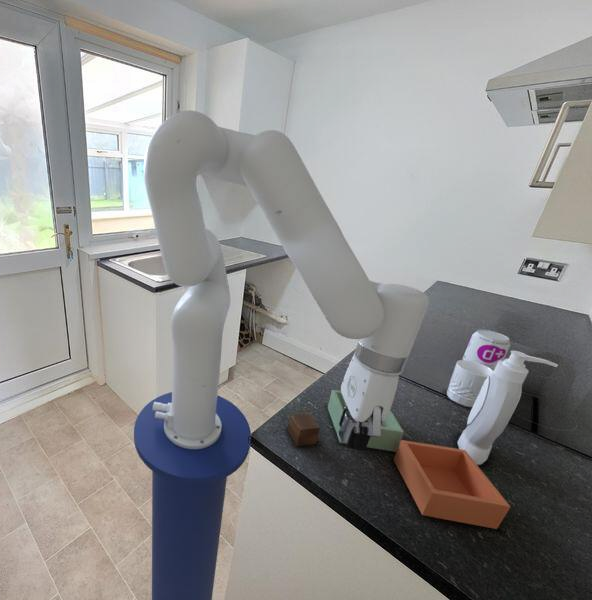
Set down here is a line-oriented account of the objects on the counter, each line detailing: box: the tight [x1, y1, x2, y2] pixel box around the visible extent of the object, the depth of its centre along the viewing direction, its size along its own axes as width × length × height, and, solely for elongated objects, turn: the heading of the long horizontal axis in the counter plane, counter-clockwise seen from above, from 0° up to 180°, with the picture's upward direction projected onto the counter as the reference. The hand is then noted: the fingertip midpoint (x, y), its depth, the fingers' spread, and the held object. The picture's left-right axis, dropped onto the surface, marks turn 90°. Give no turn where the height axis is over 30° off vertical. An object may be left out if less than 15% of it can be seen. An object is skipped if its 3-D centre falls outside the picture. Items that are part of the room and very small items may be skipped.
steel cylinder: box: [339, 410, 369, 445], centre depth 59 cm, size 4×4×5 cm
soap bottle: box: [457, 350, 559, 466], centre depth 63 cm, size 13×8×24 cm, turn 139°
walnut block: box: [287, 412, 321, 447], centre depth 68 cm, size 4×4×4 cm
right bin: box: [393, 439, 511, 530], centre depth 57 cm, size 12×12×6 cm
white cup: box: [446, 359, 494, 408], centre depth 83 cm, size 8×8×10 cm
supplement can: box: [461, 329, 511, 371], centre depth 92 cm, size 8×8×15 cm
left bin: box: [327, 389, 405, 453], centre depth 72 cm, size 12×12×6 cm
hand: (351, 436), depth 60 cm, fingers closed on steel cylinder, 4 cm apart
